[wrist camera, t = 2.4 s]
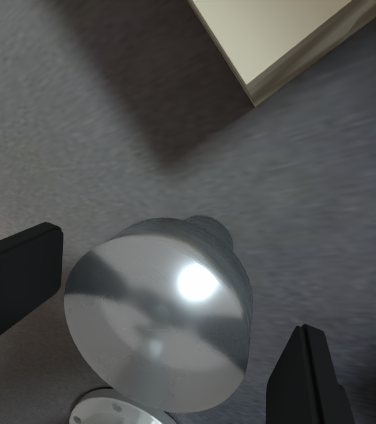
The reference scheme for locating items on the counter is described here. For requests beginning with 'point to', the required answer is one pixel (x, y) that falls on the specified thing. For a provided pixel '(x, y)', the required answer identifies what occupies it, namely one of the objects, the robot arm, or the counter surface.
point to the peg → (164, 313)
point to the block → (278, 36)
